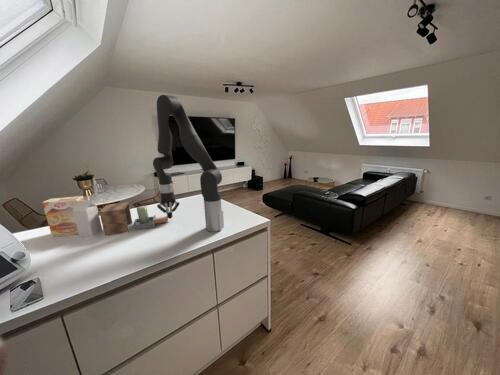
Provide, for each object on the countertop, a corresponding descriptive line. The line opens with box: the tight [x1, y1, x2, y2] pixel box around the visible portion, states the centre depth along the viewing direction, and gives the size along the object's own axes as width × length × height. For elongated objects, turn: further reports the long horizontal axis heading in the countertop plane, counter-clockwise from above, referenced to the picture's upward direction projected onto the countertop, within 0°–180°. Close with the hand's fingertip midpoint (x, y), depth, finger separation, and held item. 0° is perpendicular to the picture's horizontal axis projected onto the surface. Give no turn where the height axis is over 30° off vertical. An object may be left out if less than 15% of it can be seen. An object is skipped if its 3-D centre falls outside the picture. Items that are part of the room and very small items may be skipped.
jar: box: [136, 205, 150, 224], centre depth 115 cm, size 5×5×10 cm
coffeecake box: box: [41, 195, 85, 238], centre depth 108 cm, size 15×7×20 cm, turn 105°
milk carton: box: [73, 200, 103, 238], centre depth 105 cm, size 7×7×19 cm
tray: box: [132, 214, 169, 231], centre depth 118 cm, size 18×12×3 cm, turn 111°
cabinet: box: [99, 201, 133, 237], centre depth 111 cm, size 11×12×14 cm
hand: (170, 218), depth 122 cm, fingers closed
